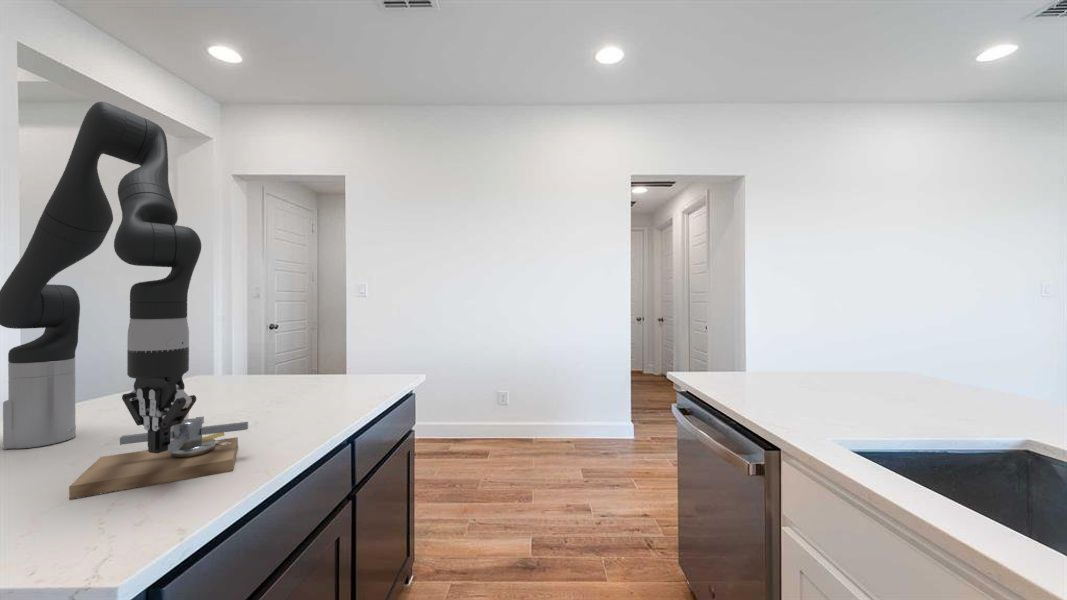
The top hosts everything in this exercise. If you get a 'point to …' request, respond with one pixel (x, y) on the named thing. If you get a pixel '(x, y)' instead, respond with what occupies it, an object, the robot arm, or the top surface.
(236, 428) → the capstan
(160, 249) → the robot arm
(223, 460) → the board
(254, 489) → the top surface
